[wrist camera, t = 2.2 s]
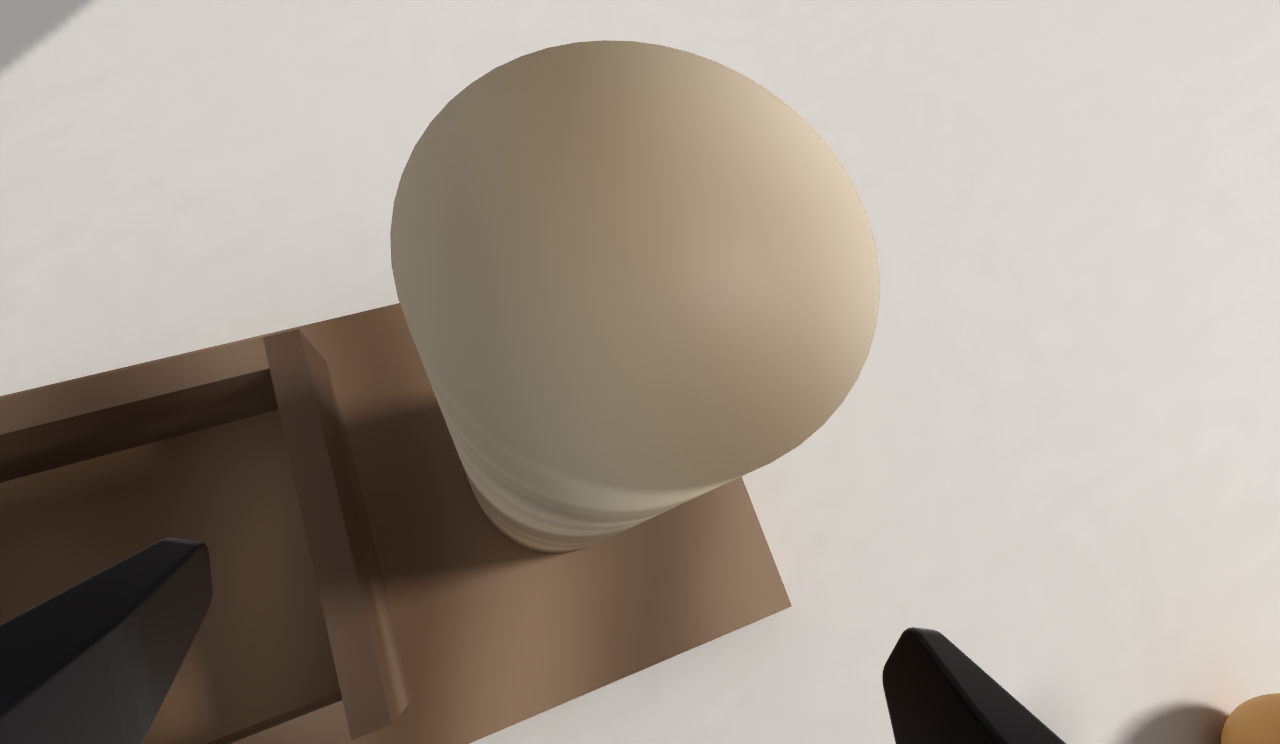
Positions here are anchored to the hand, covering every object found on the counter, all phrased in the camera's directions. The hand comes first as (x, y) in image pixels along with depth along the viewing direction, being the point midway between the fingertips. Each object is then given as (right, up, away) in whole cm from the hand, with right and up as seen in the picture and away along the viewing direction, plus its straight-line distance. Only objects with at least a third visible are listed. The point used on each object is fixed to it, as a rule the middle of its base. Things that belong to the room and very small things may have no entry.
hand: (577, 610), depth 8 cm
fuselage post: (-2, 0, +10) cm, 10 cm away
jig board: (-6, -1, +10) cm, 12 cm away
